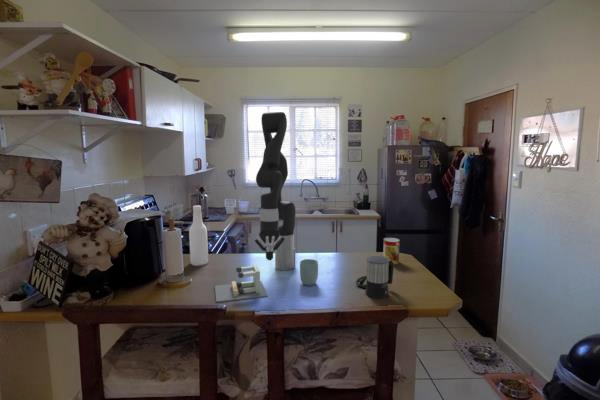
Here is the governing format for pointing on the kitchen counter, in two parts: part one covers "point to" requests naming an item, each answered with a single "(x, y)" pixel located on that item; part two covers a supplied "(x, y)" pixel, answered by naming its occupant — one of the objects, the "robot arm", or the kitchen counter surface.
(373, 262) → the milk frother
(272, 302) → the kitchen counter surface
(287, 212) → the robot arm
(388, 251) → the canned food
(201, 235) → the alcohol
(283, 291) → the kitchen counter surface
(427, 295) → the kitchen counter surface
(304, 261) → the cup
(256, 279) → the pale mint angular piece
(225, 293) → the mat
